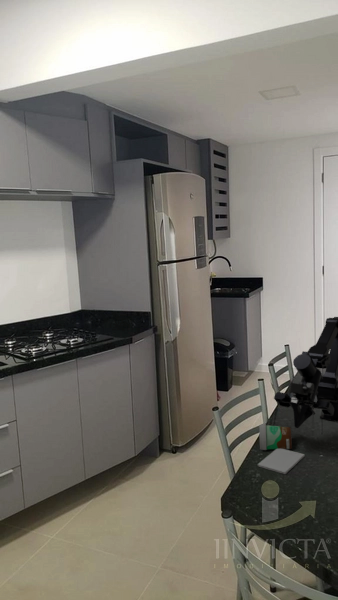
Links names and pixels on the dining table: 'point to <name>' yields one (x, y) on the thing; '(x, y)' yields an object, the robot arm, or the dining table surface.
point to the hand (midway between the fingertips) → (296, 427)
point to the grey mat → (281, 460)
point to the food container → (275, 437)
